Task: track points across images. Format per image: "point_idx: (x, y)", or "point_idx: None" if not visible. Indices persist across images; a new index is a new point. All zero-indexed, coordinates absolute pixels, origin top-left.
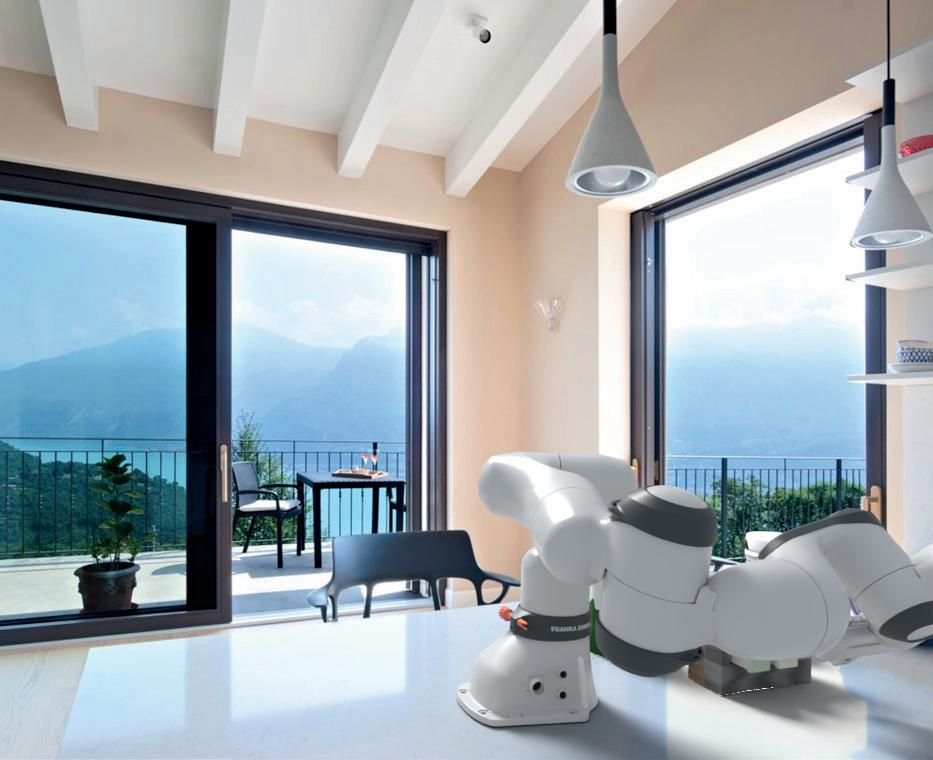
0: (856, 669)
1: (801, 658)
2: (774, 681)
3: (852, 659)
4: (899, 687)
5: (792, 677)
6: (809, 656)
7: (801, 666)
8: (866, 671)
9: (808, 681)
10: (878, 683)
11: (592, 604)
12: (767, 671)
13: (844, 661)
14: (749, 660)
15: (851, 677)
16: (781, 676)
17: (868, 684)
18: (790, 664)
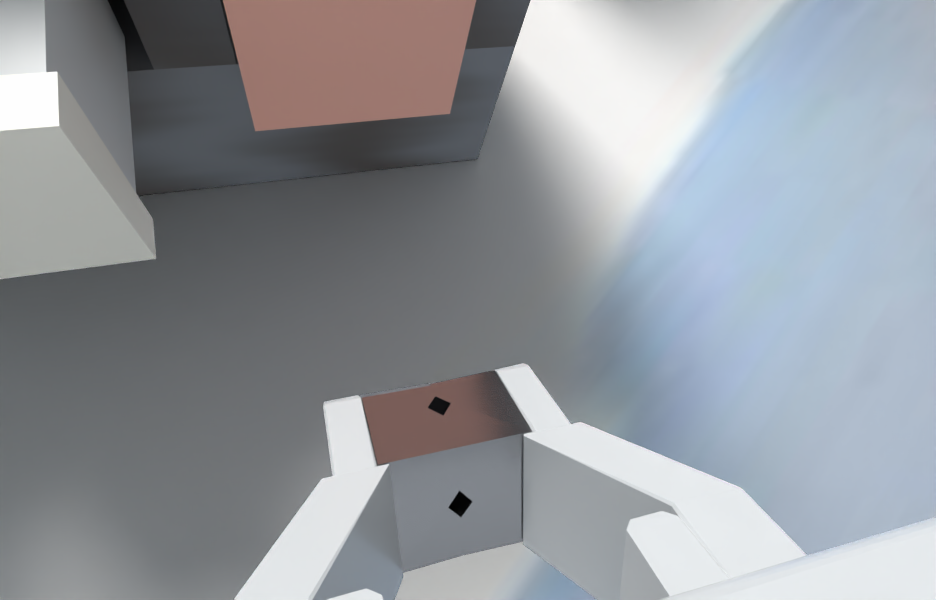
0: (825, 71)
1: (337, 122)
2: (166, 171)
3: (541, 553)
4: (916, 290)
5: (330, 149)
6: (427, 109)
7: None
8: (860, 99)
9: (457, 158)
10: (837, 230)
11: None
12: None
13: (426, 558)
14: None
15: (742, 144)
16: (229, 149)
17: (778, 233)
18: (44, 261)
